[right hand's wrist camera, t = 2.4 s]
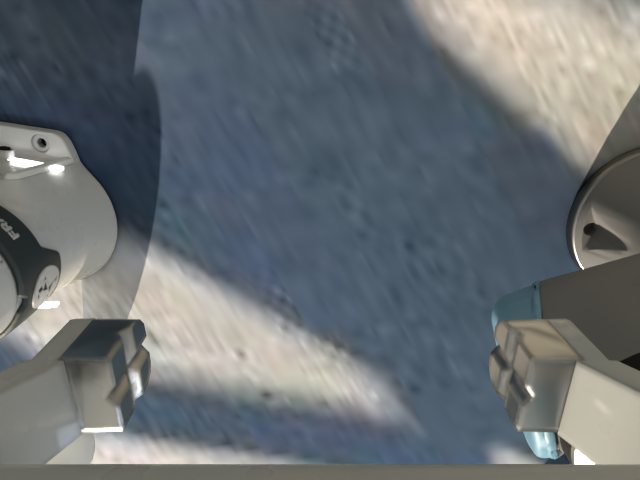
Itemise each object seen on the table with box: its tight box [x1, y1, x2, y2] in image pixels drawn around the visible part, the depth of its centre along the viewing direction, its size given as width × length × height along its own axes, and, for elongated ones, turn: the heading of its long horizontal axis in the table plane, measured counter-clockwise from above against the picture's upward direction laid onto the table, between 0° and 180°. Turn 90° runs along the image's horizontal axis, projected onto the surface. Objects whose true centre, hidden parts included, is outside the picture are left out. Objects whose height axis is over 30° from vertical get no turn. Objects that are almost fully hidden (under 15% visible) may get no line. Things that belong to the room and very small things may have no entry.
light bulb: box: [46, 432, 95, 464], centre depth 50 cm, size 7×7×11 cm
